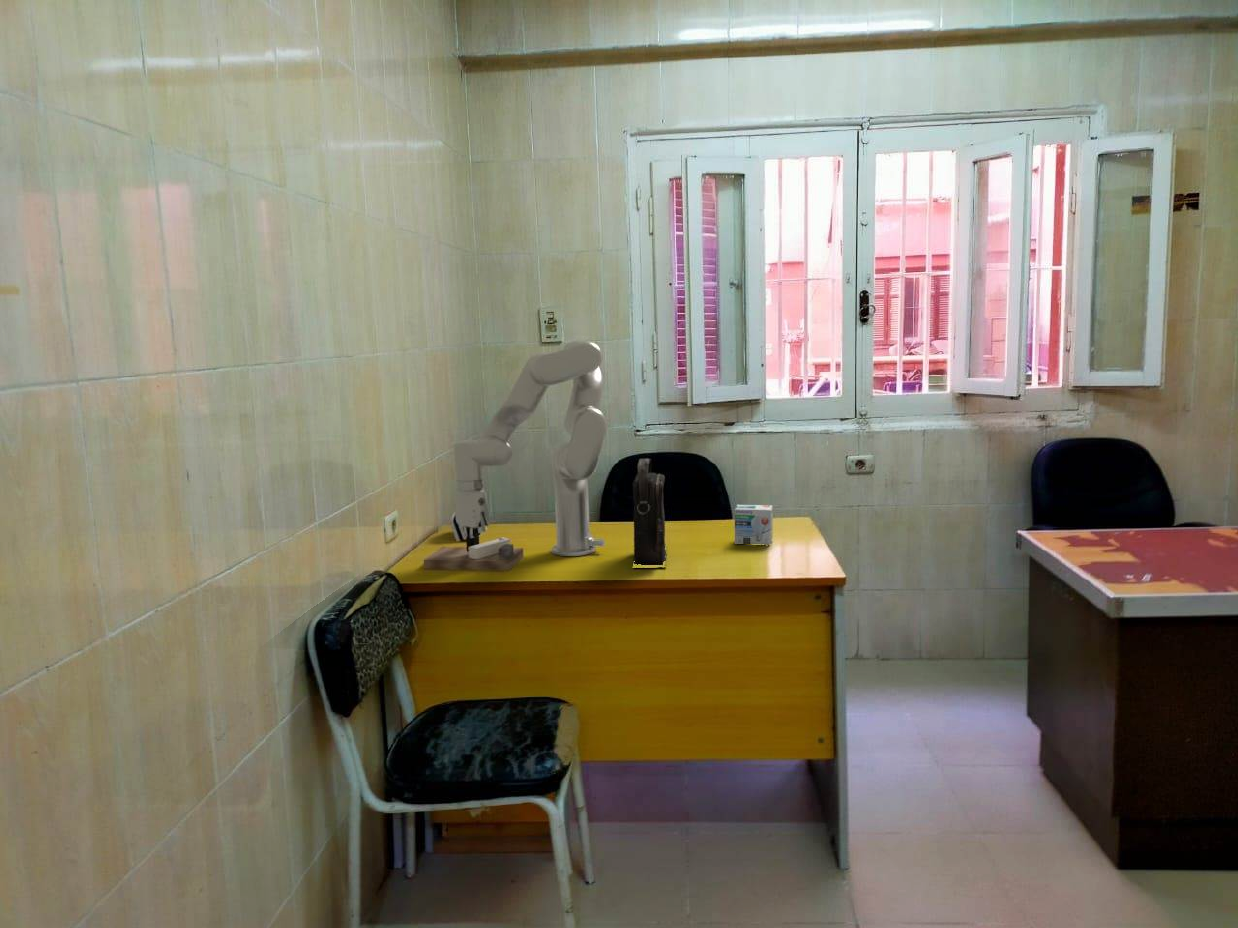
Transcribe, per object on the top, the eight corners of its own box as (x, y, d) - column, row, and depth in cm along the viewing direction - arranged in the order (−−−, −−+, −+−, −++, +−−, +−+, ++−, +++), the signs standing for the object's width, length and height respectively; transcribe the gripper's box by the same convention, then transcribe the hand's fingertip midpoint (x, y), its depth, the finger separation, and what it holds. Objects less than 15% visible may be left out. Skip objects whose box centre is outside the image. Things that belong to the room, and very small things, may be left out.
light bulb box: (734, 545, 254) (733, 508, 252) (736, 539, 260) (736, 504, 259) (771, 546, 251) (771, 509, 250) (773, 540, 258) (773, 504, 256)
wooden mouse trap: (523, 556, 248) (522, 537, 247) (508, 570, 234) (507, 550, 233) (442, 555, 252) (441, 536, 251) (424, 568, 238) (422, 549, 237)
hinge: (472, 541, 267) (459, 511, 266) (458, 546, 268) (445, 516, 267) (487, 529, 283) (475, 500, 282) (474, 534, 284) (462, 505, 283)
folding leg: (503, 548, 247) (502, 536, 247) (510, 549, 245) (509, 537, 245) (469, 557, 238) (468, 545, 237) (476, 559, 236) (475, 547, 235)
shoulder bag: (635, 548, 254) (632, 452, 249) (666, 547, 253) (664, 452, 249) (631, 569, 231) (628, 465, 227) (665, 569, 231) (663, 464, 226)
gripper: (497, 486, 236) (501, 552, 239) (464, 480, 246) (468, 544, 249) (475, 490, 231) (478, 558, 233) (442, 484, 241) (446, 549, 244)
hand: (473, 550), depth 241 cm, fingers closed
